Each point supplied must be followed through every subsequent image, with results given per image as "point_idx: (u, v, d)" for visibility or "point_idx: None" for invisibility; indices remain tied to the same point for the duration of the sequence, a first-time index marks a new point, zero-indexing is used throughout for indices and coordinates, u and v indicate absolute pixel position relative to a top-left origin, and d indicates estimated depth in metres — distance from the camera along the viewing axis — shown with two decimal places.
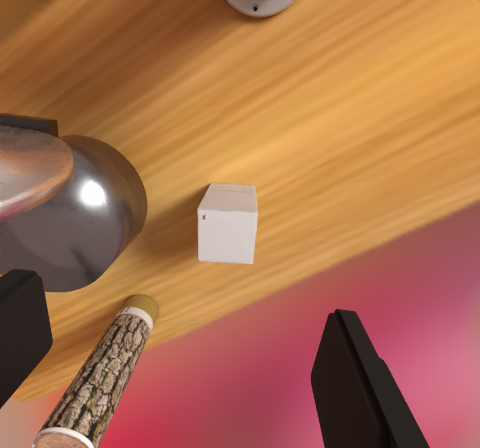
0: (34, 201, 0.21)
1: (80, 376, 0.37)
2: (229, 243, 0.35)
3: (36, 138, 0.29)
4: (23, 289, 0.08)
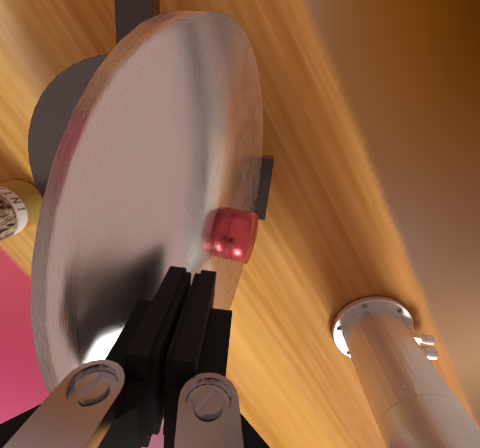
0: None
1: None
2: None
3: None
4: (187, 283, 0.09)
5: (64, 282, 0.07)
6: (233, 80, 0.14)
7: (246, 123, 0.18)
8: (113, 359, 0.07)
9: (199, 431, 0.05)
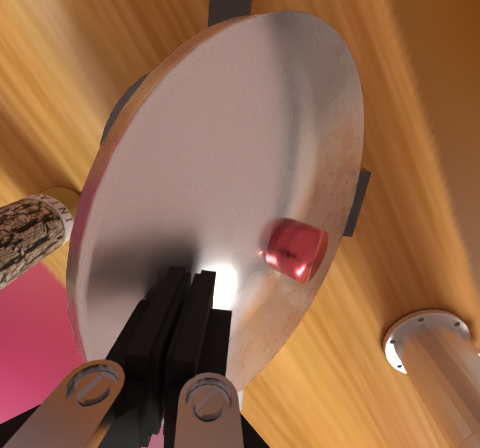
0: None
1: None
2: None
3: (326, 261, 0.23)
4: (187, 283, 0.09)
5: (84, 255, 0.08)
6: (315, 83, 0.13)
7: (334, 131, 0.16)
8: (113, 359, 0.07)
9: (199, 431, 0.05)
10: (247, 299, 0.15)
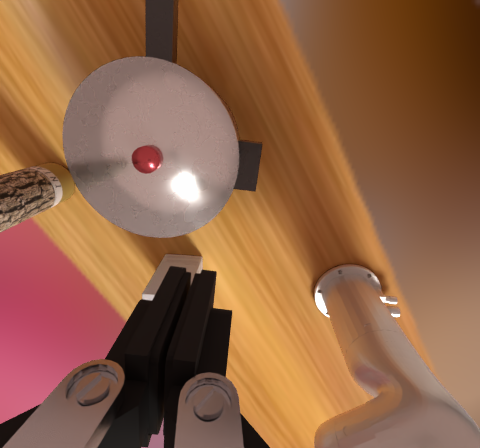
0: None
1: None
2: None
3: (213, 198, 0.35)
4: (186, 284, 0.09)
5: None
6: (152, 82, 0.31)
7: (182, 106, 0.32)
8: (113, 359, 0.07)
9: (199, 431, 0.05)
10: (129, 175, 0.35)
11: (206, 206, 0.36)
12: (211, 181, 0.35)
